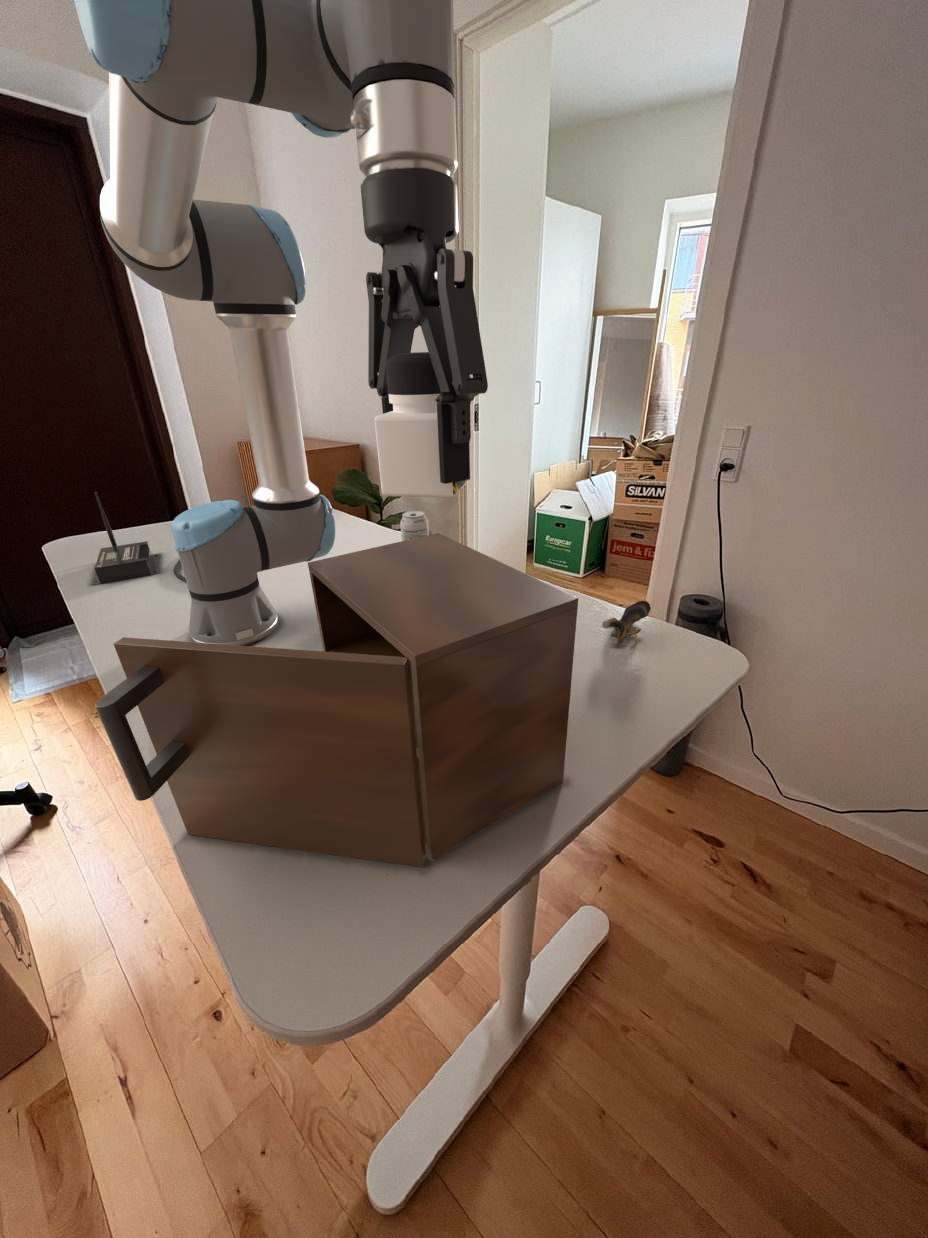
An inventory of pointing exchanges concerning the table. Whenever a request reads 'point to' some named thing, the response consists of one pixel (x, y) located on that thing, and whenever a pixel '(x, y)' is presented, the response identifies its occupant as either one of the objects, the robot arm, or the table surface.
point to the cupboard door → (275, 745)
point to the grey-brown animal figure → (628, 621)
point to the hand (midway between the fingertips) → (425, 471)
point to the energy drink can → (414, 525)
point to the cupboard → (461, 670)
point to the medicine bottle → (411, 431)
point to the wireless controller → (123, 559)
